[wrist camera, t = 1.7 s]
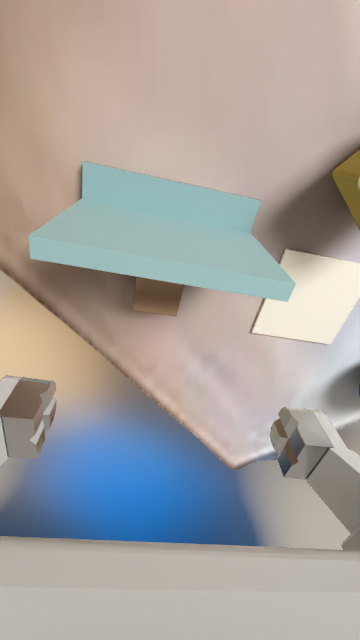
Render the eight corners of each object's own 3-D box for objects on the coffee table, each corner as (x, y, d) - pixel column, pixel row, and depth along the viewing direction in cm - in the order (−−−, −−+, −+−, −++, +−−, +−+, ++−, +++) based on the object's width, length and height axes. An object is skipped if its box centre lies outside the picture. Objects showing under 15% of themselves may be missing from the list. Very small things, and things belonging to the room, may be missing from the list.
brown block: (141, 251, 33) (137, 267, 29) (183, 258, 33) (185, 276, 29) (136, 290, 35) (131, 311, 31) (175, 296, 36) (176, 317, 32)
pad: (285, 248, 33) (286, 249, 33) (375, 266, 35) (377, 267, 34) (251, 331, 39) (252, 332, 39) (329, 342, 41) (330, 344, 41)
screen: (85, 161, 28) (23, 178, 16) (258, 199, 30) (316, 238, 18) (84, 211, 30) (30, 258, 18) (244, 242, 32) (287, 302, 21)
